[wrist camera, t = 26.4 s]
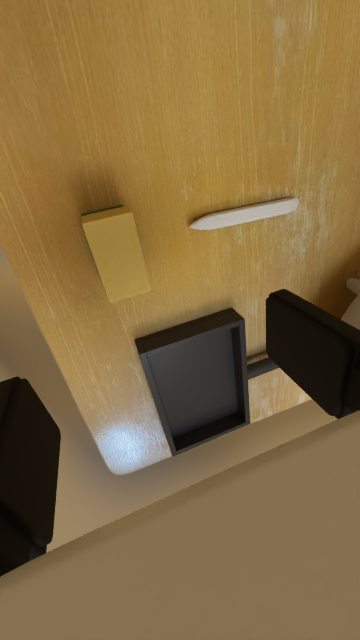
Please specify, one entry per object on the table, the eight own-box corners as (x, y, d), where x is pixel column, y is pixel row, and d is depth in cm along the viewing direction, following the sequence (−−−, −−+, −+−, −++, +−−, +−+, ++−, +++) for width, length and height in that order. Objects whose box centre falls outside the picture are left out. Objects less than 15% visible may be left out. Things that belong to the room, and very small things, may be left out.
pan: (166, 439, 44) (172, 456, 41) (134, 339, 33) (139, 354, 30) (240, 409, 46) (250, 423, 43) (232, 307, 36) (244, 318, 33)
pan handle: (240, 374, 40) (247, 383, 39) (240, 364, 39) (247, 373, 38) (280, 359, 42) (288, 366, 40) (280, 349, 41) (289, 356, 39)
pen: (183, 217, 28) (188, 219, 27) (295, 195, 31) (305, 196, 30) (185, 232, 29) (190, 235, 27) (294, 209, 32) (304, 211, 30)
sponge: (104, 281, 29) (109, 304, 24) (81, 214, 25) (81, 223, 20) (140, 271, 29) (152, 291, 24) (122, 204, 26) (132, 211, 21)
